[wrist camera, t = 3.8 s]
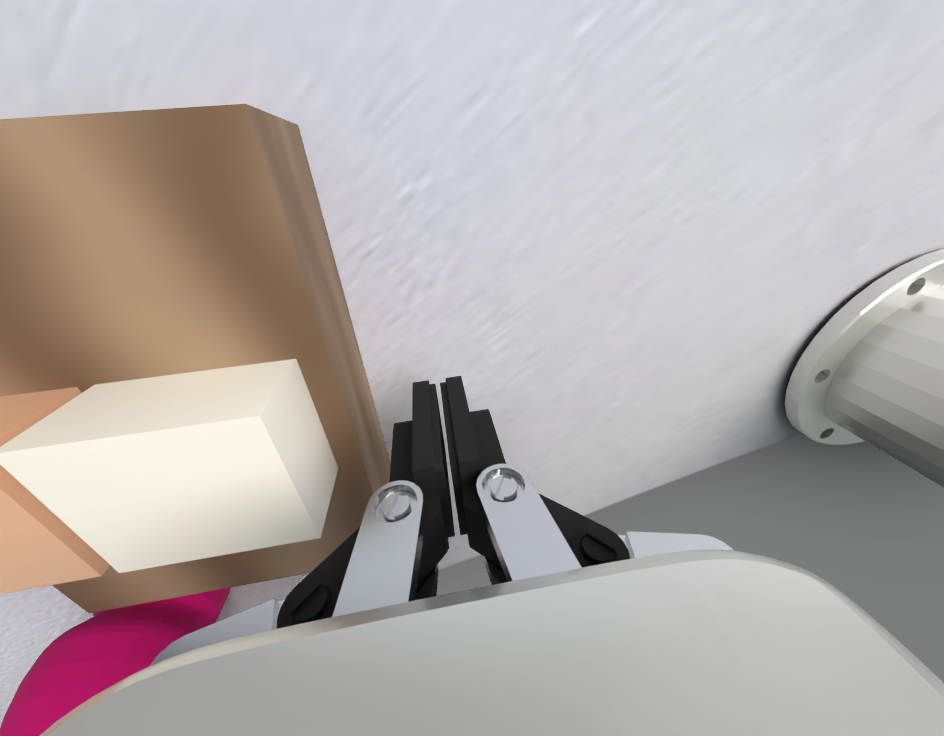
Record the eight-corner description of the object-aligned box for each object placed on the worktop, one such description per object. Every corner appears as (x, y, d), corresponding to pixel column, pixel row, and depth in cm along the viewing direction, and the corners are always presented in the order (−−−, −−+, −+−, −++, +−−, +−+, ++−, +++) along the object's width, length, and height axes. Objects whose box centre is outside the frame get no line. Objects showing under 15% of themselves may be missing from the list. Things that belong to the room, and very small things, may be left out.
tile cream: (296, 358, 11) (259, 416, 8) (338, 468, 13) (320, 538, 11) (94, 384, 10) (-12, 454, 8) (178, 493, 13) (119, 572, 10)
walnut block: (297, 125, 11) (245, 104, 8) (397, 492, 20) (394, 557, 17) (-197, 159, 10) (-521, 152, 6) (147, 533, 19) (89, 613, 16)
